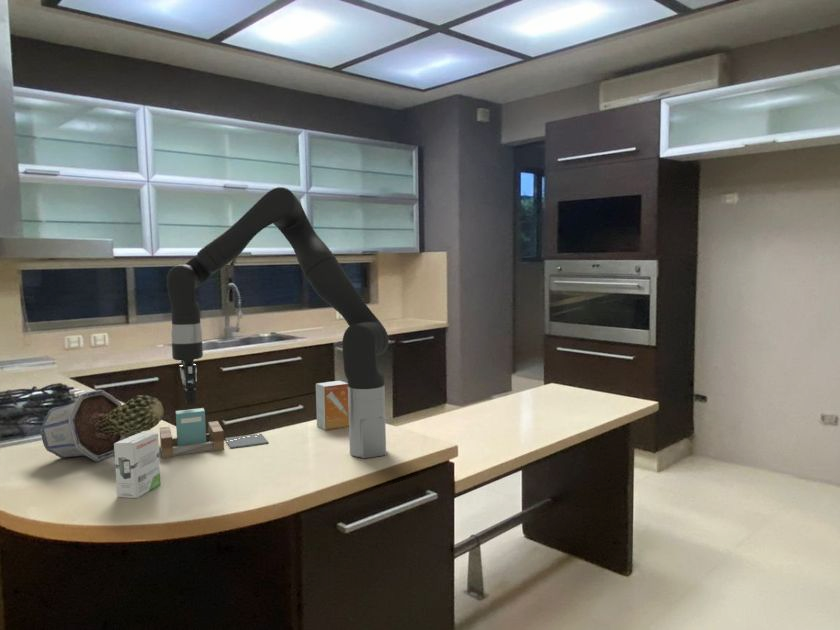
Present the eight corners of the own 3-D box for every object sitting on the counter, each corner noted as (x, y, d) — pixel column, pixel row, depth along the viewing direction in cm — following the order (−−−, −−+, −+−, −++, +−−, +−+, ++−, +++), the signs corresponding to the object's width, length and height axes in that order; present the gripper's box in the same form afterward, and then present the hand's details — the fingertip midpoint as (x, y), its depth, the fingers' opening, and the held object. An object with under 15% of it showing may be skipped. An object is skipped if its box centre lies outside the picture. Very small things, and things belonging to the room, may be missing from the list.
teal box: (206, 447, 164) (204, 411, 163) (178, 451, 161) (176, 414, 160) (205, 444, 168) (203, 407, 167) (177, 447, 165) (175, 410, 164)
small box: (325, 430, 179) (324, 386, 178) (316, 426, 184) (315, 383, 183) (350, 426, 183) (349, 383, 182) (340, 422, 189) (339, 380, 188)
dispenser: (224, 449, 162) (223, 430, 162) (162, 457, 156) (161, 438, 155) (218, 438, 173) (217, 420, 172) (160, 445, 167) (159, 427, 166)
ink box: (142, 483, 137) (139, 431, 136) (162, 484, 136) (159, 432, 135) (116, 497, 129) (112, 442, 128) (137, 498, 128) (133, 443, 127)
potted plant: (22, 408, 151) (126, 380, 144) (77, 396, 168) (172, 371, 162) (38, 477, 150) (143, 453, 144) (92, 458, 168) (187, 436, 162)
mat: (268, 443, 167) (268, 441, 167) (230, 448, 163) (230, 447, 163) (261, 434, 176) (261, 433, 176) (225, 439, 172) (224, 438, 172)
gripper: (204, 342, 157) (207, 405, 159) (199, 337, 170) (202, 394, 172) (173, 344, 154) (176, 408, 156) (170, 338, 167) (173, 397, 168)
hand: (189, 401), depth 164 cm, fingers open, 8 cm apart
